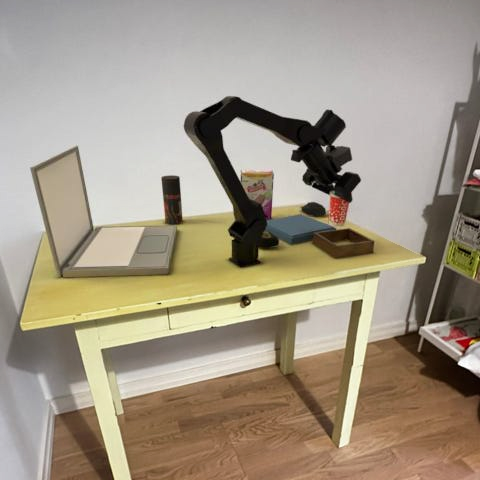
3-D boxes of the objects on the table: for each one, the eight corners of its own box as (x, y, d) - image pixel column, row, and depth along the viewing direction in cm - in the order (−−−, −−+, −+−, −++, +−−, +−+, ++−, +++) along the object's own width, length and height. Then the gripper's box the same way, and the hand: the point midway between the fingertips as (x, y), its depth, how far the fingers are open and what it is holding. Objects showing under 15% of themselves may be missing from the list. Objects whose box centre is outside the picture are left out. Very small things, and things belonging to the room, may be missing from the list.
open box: (334, 258, 111) (336, 246, 109) (312, 243, 121) (313, 232, 119) (372, 252, 115) (375, 241, 113) (348, 238, 125) (349, 227, 123)
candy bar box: (240, 221, 140) (240, 172, 132) (239, 217, 144) (239, 169, 136) (272, 221, 140) (274, 172, 132) (270, 217, 145) (272, 169, 136)
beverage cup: (330, 227, 114) (336, 176, 107) (323, 221, 120) (329, 172, 113) (350, 226, 115) (358, 176, 108) (342, 220, 120) (349, 171, 113)
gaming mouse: (308, 206, 157) (309, 196, 155) (329, 216, 146) (330, 205, 144) (294, 208, 155) (294, 197, 153) (314, 218, 144) (315, 207, 141)
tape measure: (279, 249, 117) (280, 236, 115) (257, 251, 115) (257, 239, 113) (270, 241, 123) (271, 229, 121) (249, 243, 121) (249, 231, 119)
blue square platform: (291, 244, 120) (291, 236, 119) (257, 228, 133) (258, 221, 132) (335, 234, 128) (336, 226, 127) (300, 220, 142) (300, 213, 140)
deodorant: (181, 224, 137) (178, 179, 129) (164, 224, 137) (159, 179, 129) (183, 219, 142) (180, 175, 134) (167, 219, 142) (163, 175, 134)
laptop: (168, 274, 101) (157, 165, 88) (56, 277, 100) (28, 167, 86) (177, 230, 131) (170, 144, 118) (91, 232, 130) (74, 145, 116)
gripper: (361, 139, 97) (386, 183, 107) (315, 132, 111) (341, 171, 121) (331, 176, 98) (358, 216, 108) (289, 164, 112) (317, 200, 122)
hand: (343, 199), depth 114 cm, fingers closed on beverage cup, 6 cm apart
